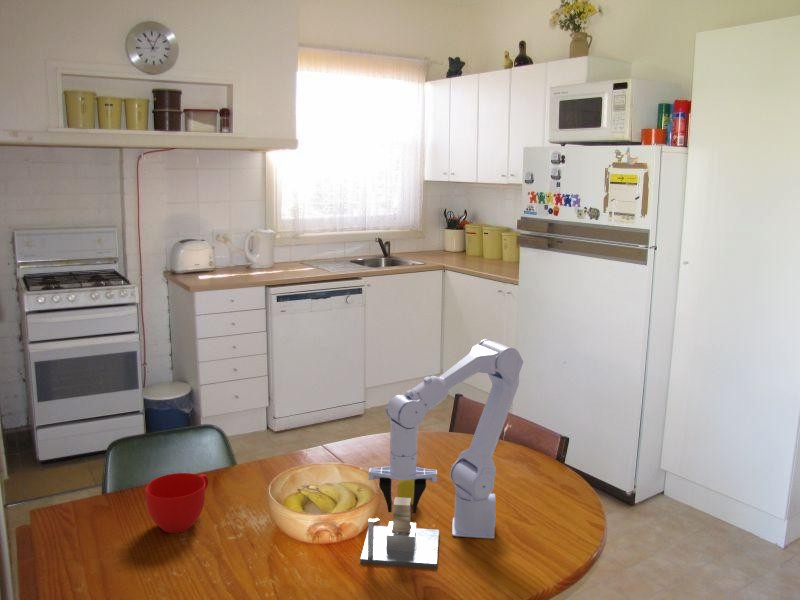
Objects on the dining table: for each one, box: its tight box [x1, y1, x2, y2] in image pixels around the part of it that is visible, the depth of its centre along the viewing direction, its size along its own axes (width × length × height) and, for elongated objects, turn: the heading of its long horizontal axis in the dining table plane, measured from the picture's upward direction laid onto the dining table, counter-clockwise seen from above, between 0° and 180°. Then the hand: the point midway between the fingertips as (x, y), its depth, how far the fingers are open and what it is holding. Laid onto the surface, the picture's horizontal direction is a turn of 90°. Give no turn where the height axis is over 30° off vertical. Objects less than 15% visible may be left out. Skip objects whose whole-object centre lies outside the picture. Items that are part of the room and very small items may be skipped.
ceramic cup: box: [144, 472, 209, 534], centre depth 162 cm, size 13×17×10 cm
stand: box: [359, 517, 440, 569], centre depth 153 cm, size 16×14×9 cm
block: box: [392, 496, 412, 532], centre depth 153 cm, size 4×4×6 cm
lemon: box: [396, 480, 414, 504], centre depth 173 cm, size 6×6×8 cm
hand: (402, 510), depth 153 cm, fingers open, 5 cm apart
